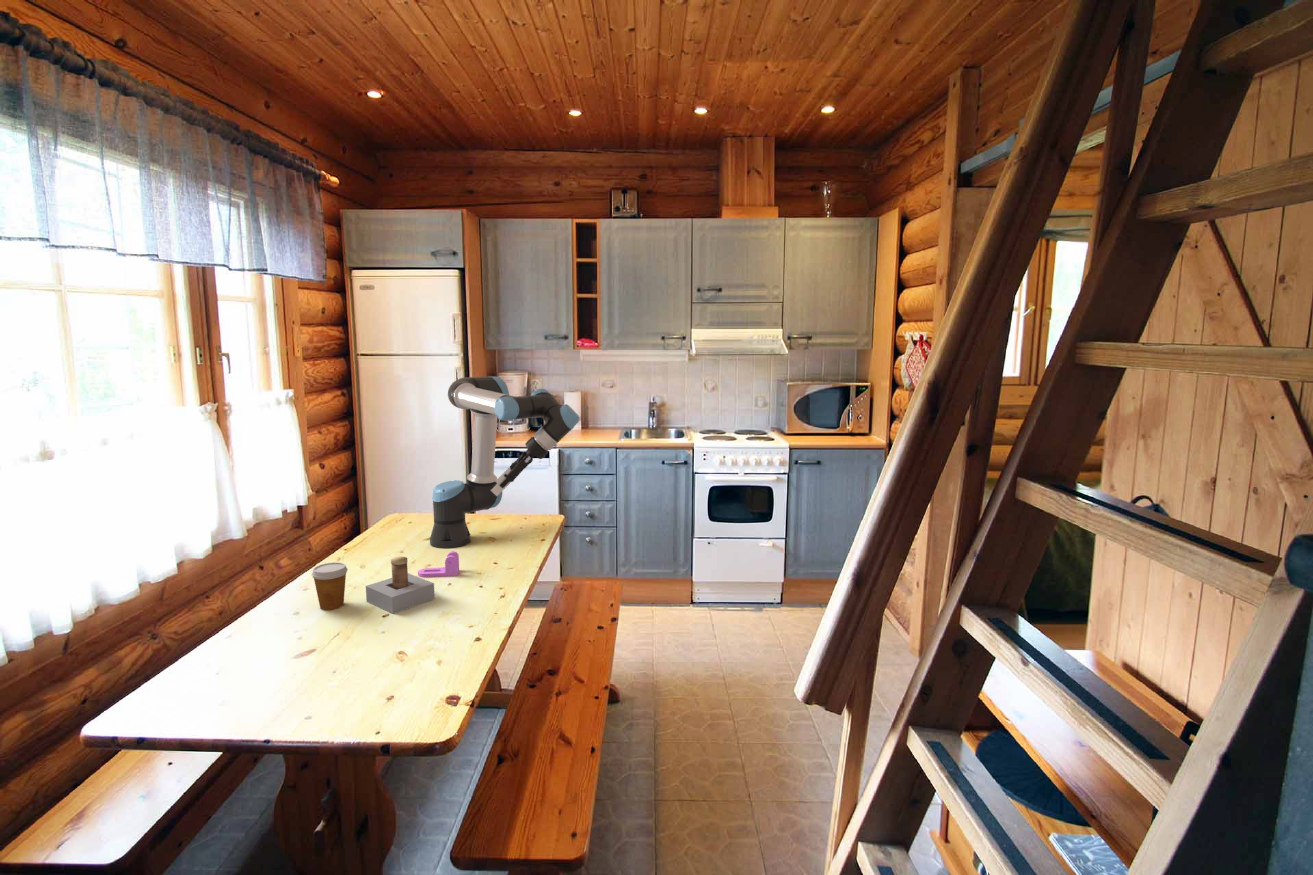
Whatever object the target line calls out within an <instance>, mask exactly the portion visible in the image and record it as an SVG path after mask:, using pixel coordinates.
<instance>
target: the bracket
mask: <svg viewBox="0 0 1313 875" xmlns="http://www.w3.org/2000/svg"><path fill="white" fill-rule="evenodd" d="M459 572H460V555H459V553H458V552H457V551H450V552H448V554H447V556H446V558H445V560H444V567H424V568H421V569H419V570H417V577H419V578H422V579H424V578H443V577H445V578H447V577H457V576H458V575H459Z"/></svg>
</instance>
